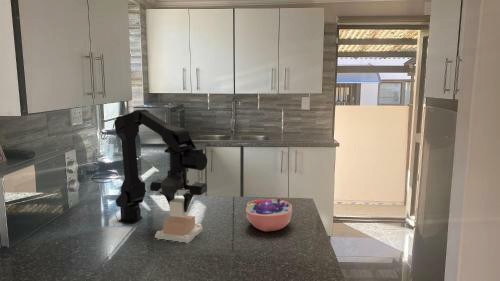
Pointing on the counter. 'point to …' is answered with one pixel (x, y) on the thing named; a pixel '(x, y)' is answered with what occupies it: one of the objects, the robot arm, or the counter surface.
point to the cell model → (269, 214)
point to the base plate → (180, 238)
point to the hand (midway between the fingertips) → (179, 211)
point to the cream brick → (177, 207)
